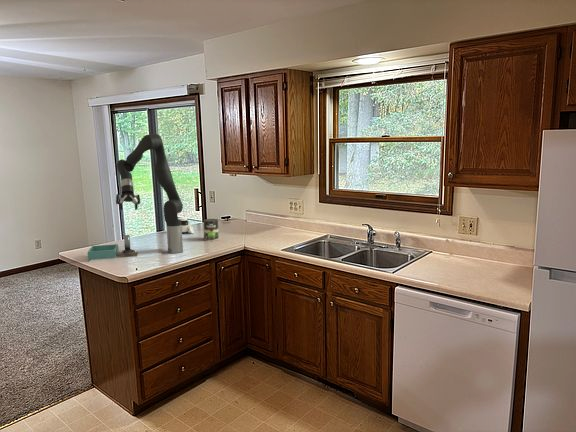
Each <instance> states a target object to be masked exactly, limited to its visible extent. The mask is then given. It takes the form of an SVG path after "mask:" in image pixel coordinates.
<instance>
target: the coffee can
mask: <svg viewBox="0 0 576 432" xmlns="http://www.w3.org/2000/svg"><path fill="white" fill-rule="evenodd" d="M203 235H204V236H203V237H204V238H203V239H204V241H207V242H214V241H218V240H220V238H219V237H220V236H219V219H218V218H207V219H203Z"/></svg>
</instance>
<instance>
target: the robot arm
mask: <svg viewBox="0 0 576 432" xmlns="http://www.w3.org/2000/svg"><path fill="white" fill-rule="evenodd" d="M149 150H150V151H151V150H154V154H155V157H156V158H155V165H154V173H155V177H156V179H157V183H158V184H159V185H160V187H161V189H163V190H164V192H165V193H166V196H167V199H168V200H167V201H165V203H164V204H163V217H164V221H165V224H166V225H165V226H166V239H167V241H166V242H167V253H168V254H179V253H183V252H184V247H183V246H184V245H183V234H182V225H181V220H179V219H178V218H179V217H178V214H180V213H181V212H182V211H183V208H184V207H183V202H182V200H181V197H180V196H179V193H178V190H177V188H176V184H175V182H174V179H173V174H172V172H171V167H170V166H169V163H168V159H167V155H166V152H165V147H164V143H163V139H162V137H161V135H160V134H157V133H151V134H145V135H143V137H142V138H141V140H140V141H139V142H138V144H137V146H136V147H135V148H134V149H133V150H132V152H131V153H130V154H128V155H127V157H126V158H125V159H122V158H121V159H119V160H118V161H117V163H116V167H117V172H118V174H119V176H120V193H121V194H119V193H117V194H116V196H115V204H116V205H118V206H119V208H118V209H119V210H120V211H123V204H124V202H126V203H127V202H128V203H132V204H134V211H137V210H138V208H139V205H140V204H141V198H140V194H135V192H134V191H135V190H134V181H133V174H132V173H131V172H133V171H134V169H135V167H136V165H137V164H138V163H139V162H140V161H142V159H143V155H144V153H145V152H147V151H149ZM119 200H120V201H119Z"/></svg>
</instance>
